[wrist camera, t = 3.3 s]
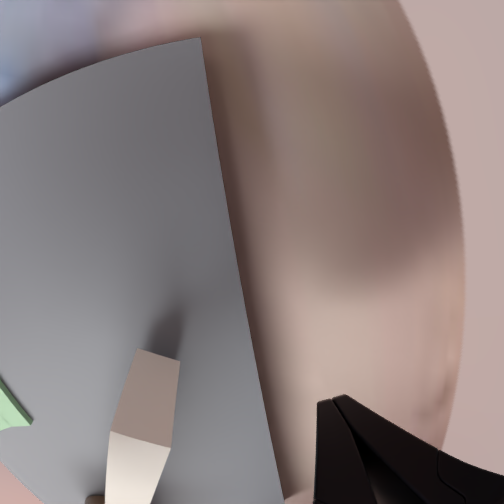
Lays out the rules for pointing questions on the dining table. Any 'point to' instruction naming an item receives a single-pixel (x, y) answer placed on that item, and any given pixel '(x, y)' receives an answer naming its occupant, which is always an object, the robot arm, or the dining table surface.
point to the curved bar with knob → (141, 431)
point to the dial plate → (124, 282)
